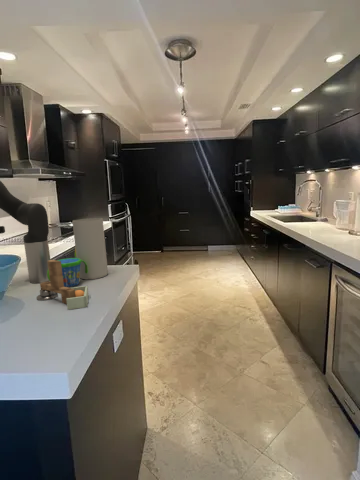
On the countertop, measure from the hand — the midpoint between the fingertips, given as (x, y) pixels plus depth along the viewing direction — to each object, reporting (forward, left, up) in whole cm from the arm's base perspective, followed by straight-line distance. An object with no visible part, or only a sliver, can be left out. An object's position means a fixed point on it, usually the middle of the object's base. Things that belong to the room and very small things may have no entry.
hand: (4, 229), depth 93 cm
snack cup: (-19, +15, -26) cm, 36 cm away
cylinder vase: (-29, +24, -26) cm, 46 cm away
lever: (-1, +13, -26) cm, 29 cm away
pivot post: (-7, +8, -26) cm, 28 cm away
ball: (+3, +20, -24) cm, 31 cm away
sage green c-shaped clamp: (+3, +20, -26) cm, 33 cm away
